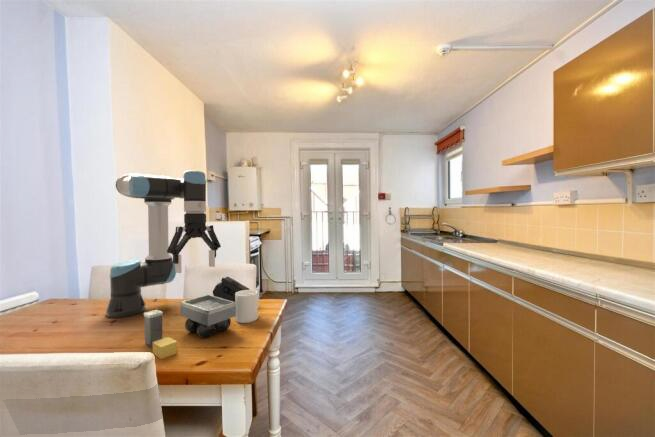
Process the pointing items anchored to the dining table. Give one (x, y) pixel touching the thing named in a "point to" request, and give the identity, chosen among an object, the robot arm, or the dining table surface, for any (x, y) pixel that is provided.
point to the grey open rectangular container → (207, 314)
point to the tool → (228, 289)
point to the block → (164, 347)
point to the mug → (246, 306)
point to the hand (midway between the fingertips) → (196, 269)
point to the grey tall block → (153, 326)
